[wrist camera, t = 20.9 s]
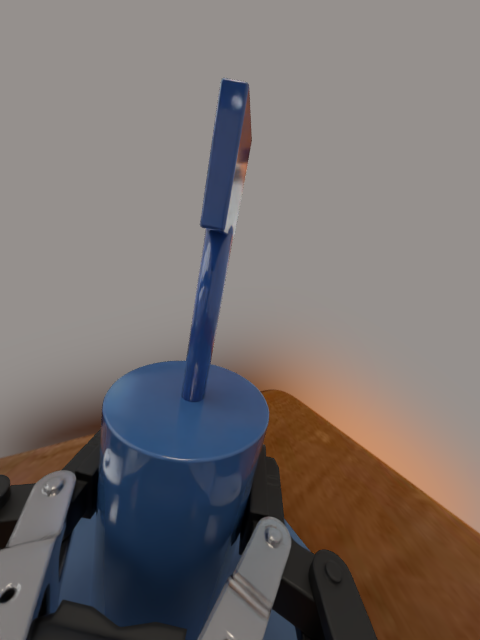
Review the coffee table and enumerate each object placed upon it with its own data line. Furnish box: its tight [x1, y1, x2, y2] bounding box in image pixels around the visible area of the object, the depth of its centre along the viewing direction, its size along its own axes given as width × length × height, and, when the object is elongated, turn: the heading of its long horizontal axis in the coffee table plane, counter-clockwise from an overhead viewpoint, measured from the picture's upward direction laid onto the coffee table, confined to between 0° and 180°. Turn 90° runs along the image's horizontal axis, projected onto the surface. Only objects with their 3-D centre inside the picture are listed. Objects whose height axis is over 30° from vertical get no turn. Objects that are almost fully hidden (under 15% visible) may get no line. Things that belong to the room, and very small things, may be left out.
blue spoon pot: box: [90, 78, 269, 640], centre depth 9 cm, size 6×6×20 cm
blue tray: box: [58, 512, 309, 640], centre depth 12 cm, size 14×14×2 cm
